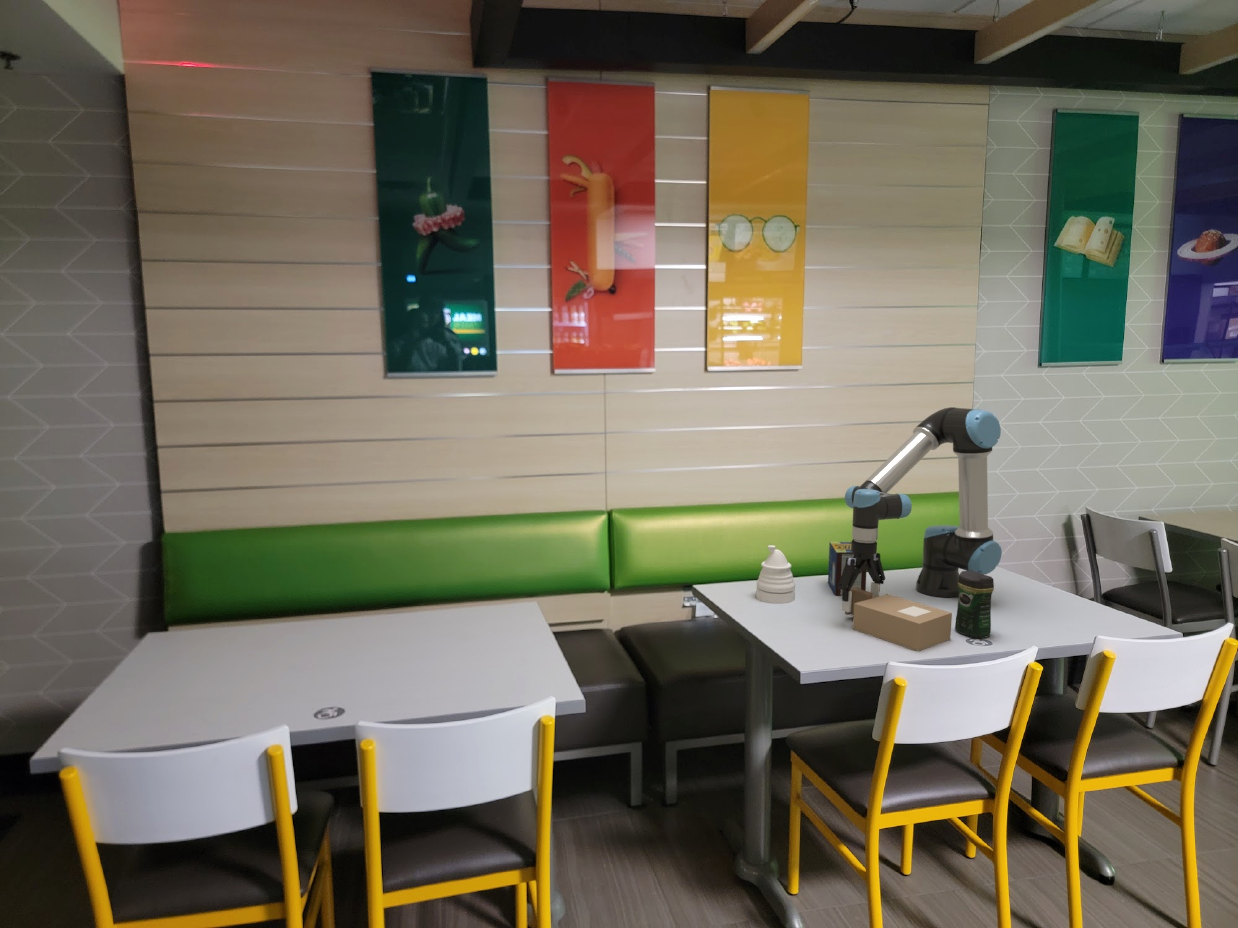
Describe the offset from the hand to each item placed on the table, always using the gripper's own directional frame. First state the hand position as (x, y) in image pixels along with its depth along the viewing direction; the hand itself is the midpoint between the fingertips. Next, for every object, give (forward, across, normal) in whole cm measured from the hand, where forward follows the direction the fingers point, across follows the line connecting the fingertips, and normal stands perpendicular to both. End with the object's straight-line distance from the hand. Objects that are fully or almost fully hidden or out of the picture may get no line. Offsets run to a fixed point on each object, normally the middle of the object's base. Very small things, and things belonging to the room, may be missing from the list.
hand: (860, 607), depth 250 cm
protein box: (+4, -23, -24) cm, 33 cm away
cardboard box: (+4, 0, +14) cm, 15 cm away
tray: (+3, 0, +10) cm, 11 cm away
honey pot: (+5, +4, -32) cm, 32 cm away
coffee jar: (+4, -18, +26) cm, 32 cm away
